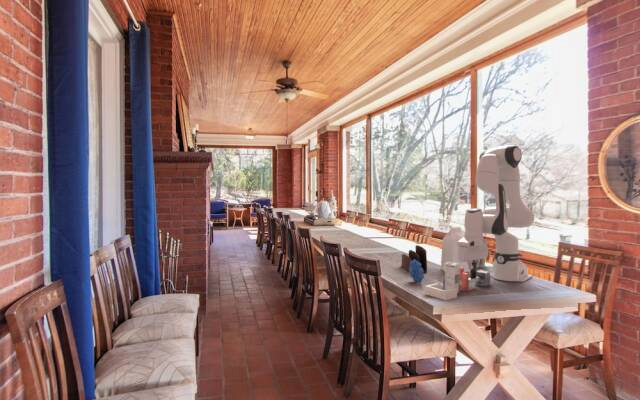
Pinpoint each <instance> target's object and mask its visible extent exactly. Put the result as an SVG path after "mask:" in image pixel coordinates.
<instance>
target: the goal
mask: <svg viewBox="0 0 640 400" xmlns="http://www.w3.org/2000/svg"><path fill="white" fill-rule="evenodd" d="M424 295H426V296H429V295H430V297H433V298H437V299H439V300H444V301H448V300H451V299H452V298H453V299H455V298H456V299H457V298H458V293H457V289H456V288H454V289H450V290H446V291H445V290H443V289H440V288H439V283H433V284H428V285H424Z"/></svg>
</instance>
